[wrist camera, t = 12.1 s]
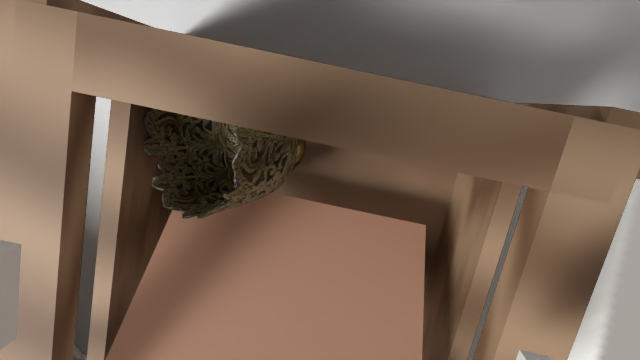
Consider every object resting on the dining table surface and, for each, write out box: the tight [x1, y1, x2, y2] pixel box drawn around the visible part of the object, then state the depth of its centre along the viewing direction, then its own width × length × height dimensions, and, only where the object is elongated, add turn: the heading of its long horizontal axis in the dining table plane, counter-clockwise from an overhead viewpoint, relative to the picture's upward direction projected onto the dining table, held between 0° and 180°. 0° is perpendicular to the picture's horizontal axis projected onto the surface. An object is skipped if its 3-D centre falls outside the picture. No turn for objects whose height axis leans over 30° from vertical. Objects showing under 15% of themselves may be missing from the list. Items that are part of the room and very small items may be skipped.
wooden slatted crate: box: [0, 0, 640, 360], centre depth 22 cm, size 22×22×15 cm
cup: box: [142, 109, 306, 219], centre depth 23 cm, size 8×7×8 cm
